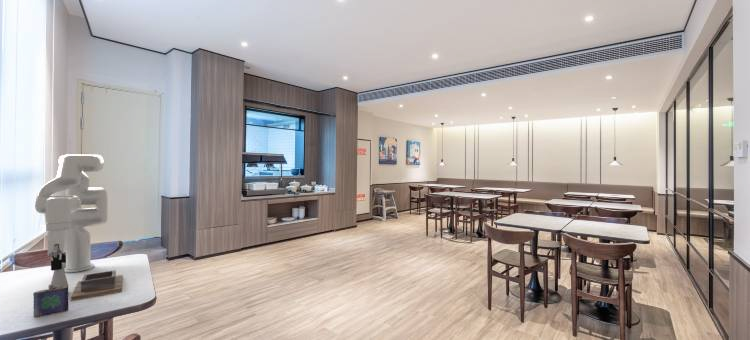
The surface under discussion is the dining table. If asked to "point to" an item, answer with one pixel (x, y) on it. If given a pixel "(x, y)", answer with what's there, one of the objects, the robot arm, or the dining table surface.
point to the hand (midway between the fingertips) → (58, 267)
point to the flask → (50, 301)
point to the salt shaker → (60, 277)
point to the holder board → (97, 285)
